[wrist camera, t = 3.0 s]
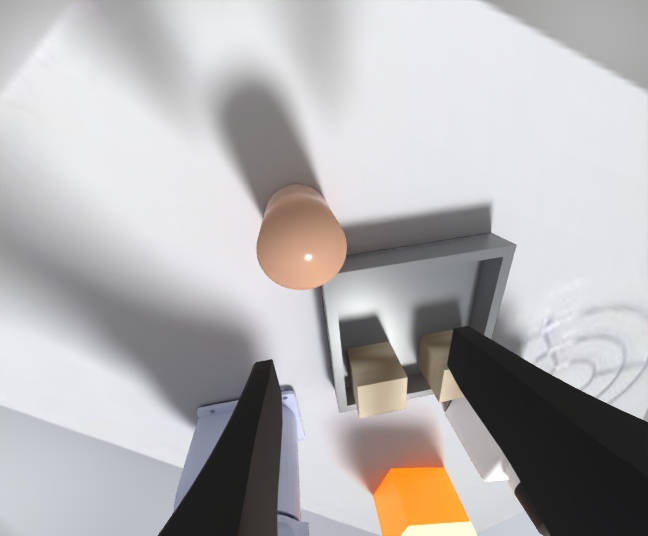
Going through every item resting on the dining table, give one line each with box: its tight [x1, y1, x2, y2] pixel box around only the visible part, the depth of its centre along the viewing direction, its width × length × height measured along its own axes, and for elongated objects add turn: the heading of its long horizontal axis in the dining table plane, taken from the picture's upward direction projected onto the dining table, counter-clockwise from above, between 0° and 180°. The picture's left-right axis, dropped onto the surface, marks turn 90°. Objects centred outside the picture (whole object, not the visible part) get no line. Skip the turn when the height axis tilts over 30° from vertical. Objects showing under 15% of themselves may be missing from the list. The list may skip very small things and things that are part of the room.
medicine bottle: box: [445, 397, 550, 536], centre depth 25 cm, size 7×7×12 cm
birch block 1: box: [347, 341, 408, 418], centre depth 23 cm, size 4×4×4 cm
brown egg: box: [257, 184, 347, 290], centre depth 15 cm, size 4×4×6 cm
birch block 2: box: [418, 330, 465, 402], centre depth 23 cm, size 4×4×4 cm
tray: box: [321, 233, 516, 413], centre depth 22 cm, size 14×15×2 cm
